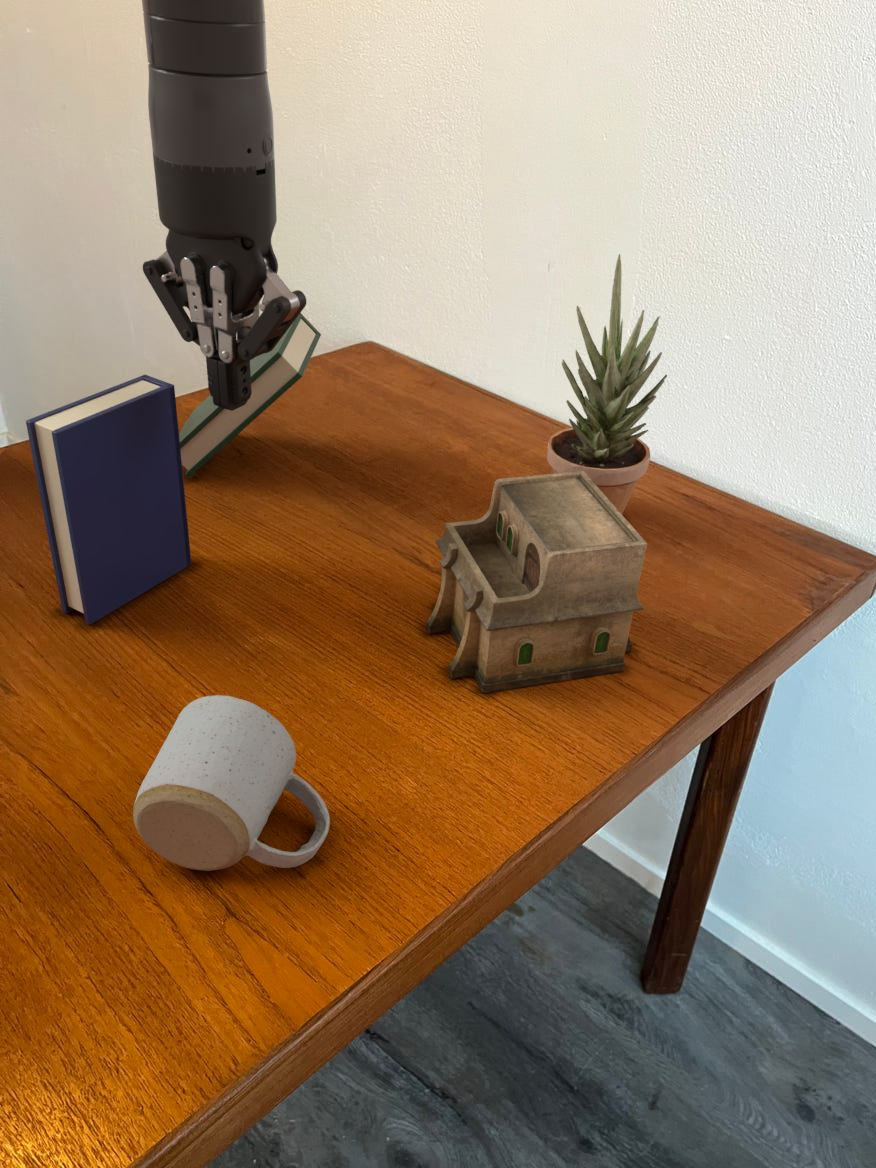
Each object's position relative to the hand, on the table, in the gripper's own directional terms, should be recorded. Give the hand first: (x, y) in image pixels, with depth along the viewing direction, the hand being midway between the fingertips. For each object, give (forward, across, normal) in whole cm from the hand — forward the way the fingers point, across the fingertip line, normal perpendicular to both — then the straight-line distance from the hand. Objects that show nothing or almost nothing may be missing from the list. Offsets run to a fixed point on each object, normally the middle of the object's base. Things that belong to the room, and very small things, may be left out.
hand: (231, 404), depth 74 cm
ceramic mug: (+16, +18, -21) cm, 32 cm away
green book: (+10, -14, +19) cm, 25 cm away
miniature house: (+16, +22, +8) cm, 28 cm away
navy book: (+8, -5, -6) cm, 11 cm away
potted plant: (+16, +18, +28) cm, 37 cm away
